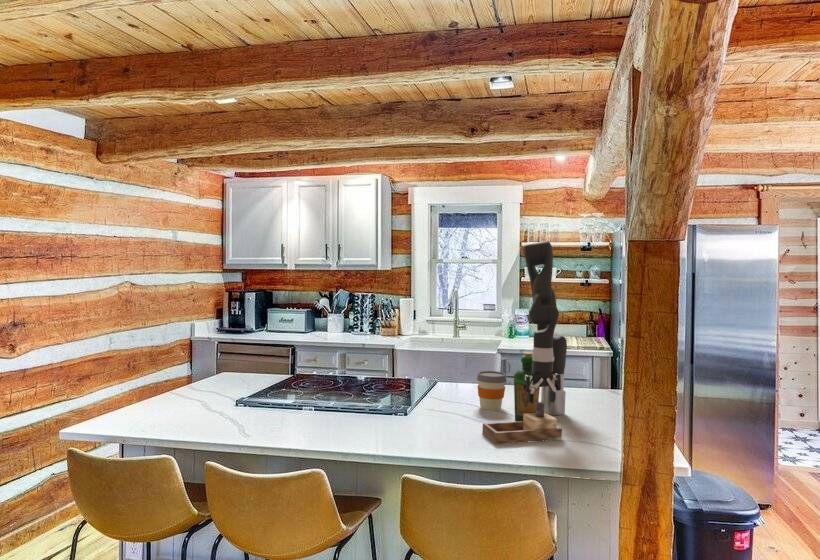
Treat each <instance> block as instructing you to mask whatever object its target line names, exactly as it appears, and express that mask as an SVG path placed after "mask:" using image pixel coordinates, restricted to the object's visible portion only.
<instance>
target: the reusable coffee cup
mask: <svg viewBox="0 0 820 560" xmlns="http://www.w3.org/2000/svg"><path fill="white" fill-rule="evenodd" d="M506 375H507V374H506V373H505V372H501V371H496V370H495V371H493V370H483V371H482V370H481V371H478V372H477V378H476V379H477V396H478V397H479V406H480V409H483V410H485V411H494V412H495V411H500V410H501V409H502V404H503V398H505V392H506V385H505V384H506V382H507V378H506V377H507V376H506Z"/></svg>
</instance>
